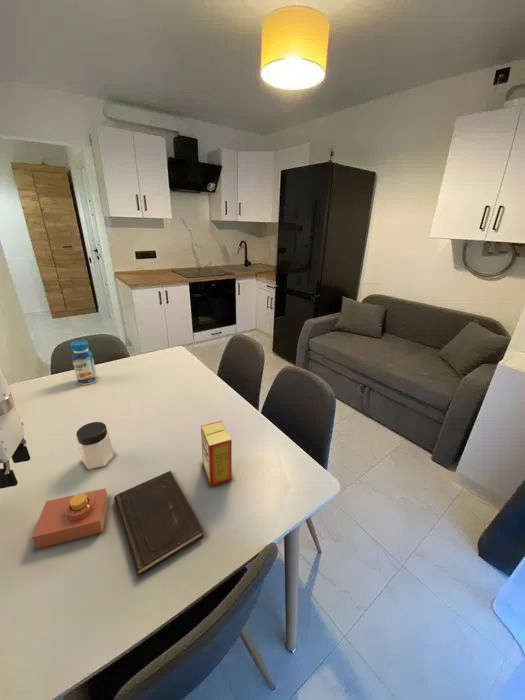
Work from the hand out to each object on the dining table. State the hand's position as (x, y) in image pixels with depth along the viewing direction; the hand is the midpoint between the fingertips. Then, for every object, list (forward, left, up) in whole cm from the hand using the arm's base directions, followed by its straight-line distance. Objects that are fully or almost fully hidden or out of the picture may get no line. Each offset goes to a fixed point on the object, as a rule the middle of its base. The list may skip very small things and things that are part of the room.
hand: (15, 472), depth 65 cm
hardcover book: (+28, -5, -20) cm, 35 cm away
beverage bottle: (-3, +78, -20) cm, 81 cm away
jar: (+10, +22, -20) cm, 31 cm away
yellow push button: (+10, 0, -14) cm, 17 cm away
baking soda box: (+46, +6, -20) cm, 50 cm away
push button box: (+8, 0, -20) cm, 21 cm away
